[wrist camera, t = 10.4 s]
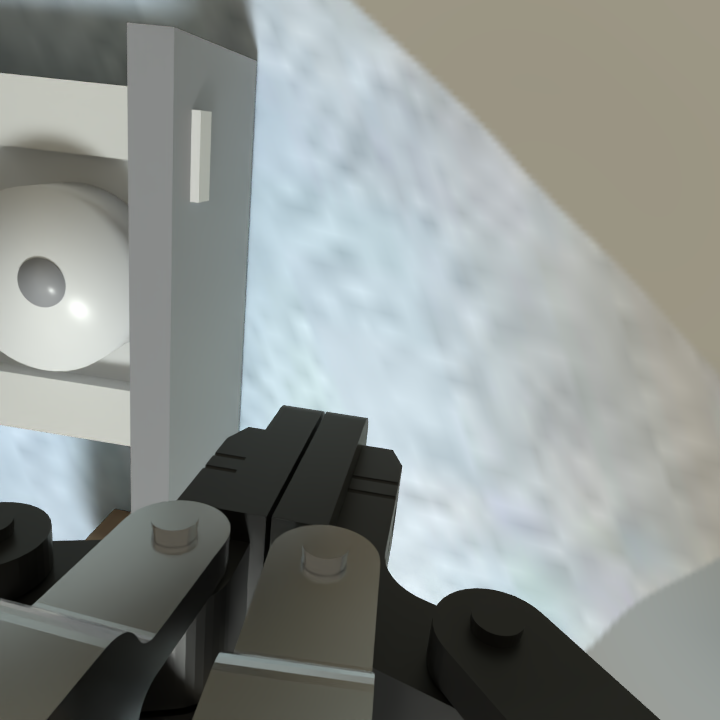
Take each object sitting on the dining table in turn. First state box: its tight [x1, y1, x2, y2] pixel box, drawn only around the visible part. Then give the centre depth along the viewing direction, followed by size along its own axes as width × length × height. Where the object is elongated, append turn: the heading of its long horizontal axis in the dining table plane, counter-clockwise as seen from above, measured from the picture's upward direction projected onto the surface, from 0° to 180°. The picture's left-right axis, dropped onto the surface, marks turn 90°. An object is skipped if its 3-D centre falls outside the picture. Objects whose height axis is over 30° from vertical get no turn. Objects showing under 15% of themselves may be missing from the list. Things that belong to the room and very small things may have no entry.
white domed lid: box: [0, 182, 130, 371], centre depth 22 cm, size 6×6×2 cm
